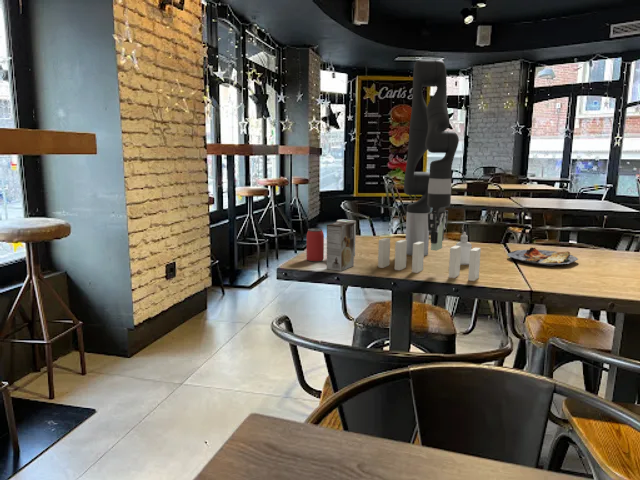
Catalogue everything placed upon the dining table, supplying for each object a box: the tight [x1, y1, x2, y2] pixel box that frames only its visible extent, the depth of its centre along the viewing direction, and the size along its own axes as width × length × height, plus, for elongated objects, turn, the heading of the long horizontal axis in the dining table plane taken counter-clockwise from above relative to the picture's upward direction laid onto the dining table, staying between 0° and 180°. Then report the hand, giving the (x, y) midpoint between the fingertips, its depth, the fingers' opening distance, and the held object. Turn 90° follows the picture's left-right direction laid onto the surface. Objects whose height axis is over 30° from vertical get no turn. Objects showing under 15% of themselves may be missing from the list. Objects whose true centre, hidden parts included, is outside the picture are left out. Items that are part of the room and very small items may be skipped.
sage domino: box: [430, 221, 443, 252], centre depth 166 cm, size 6×2×10 cm, turn 148°
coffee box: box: [326, 221, 355, 272], centre depth 175 cm, size 9×6×16 cm
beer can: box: [306, 227, 325, 263], centre depth 187 cm, size 7×7×12 cm
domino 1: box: [377, 237, 391, 269], centre depth 178 cm, size 6×2×10 cm, turn 148°
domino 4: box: [448, 244, 461, 279], centre depth 164 cm, size 6×2×10 cm, turn 148°
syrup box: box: [336, 218, 357, 257], centre depth 194 cm, size 6×6×14 cm
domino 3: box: [411, 242, 425, 274], centre depth 171 cm, size 6×2×10 cm, turn 148°
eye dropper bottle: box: [455, 231, 473, 266], centre depth 182 cm, size 4×6×12 cm
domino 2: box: [394, 239, 407, 271], centre depth 175 cm, size 6×2×10 cm, turn 147°
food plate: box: [506, 247, 579, 267], centre depth 190 cm, size 25×23×4 cm
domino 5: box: [467, 247, 482, 282], centre depth 161 cm, size 6×2×10 cm, turn 148°
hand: (437, 241), depth 167 cm, fingers closed on sage domino, 5 cm apart
